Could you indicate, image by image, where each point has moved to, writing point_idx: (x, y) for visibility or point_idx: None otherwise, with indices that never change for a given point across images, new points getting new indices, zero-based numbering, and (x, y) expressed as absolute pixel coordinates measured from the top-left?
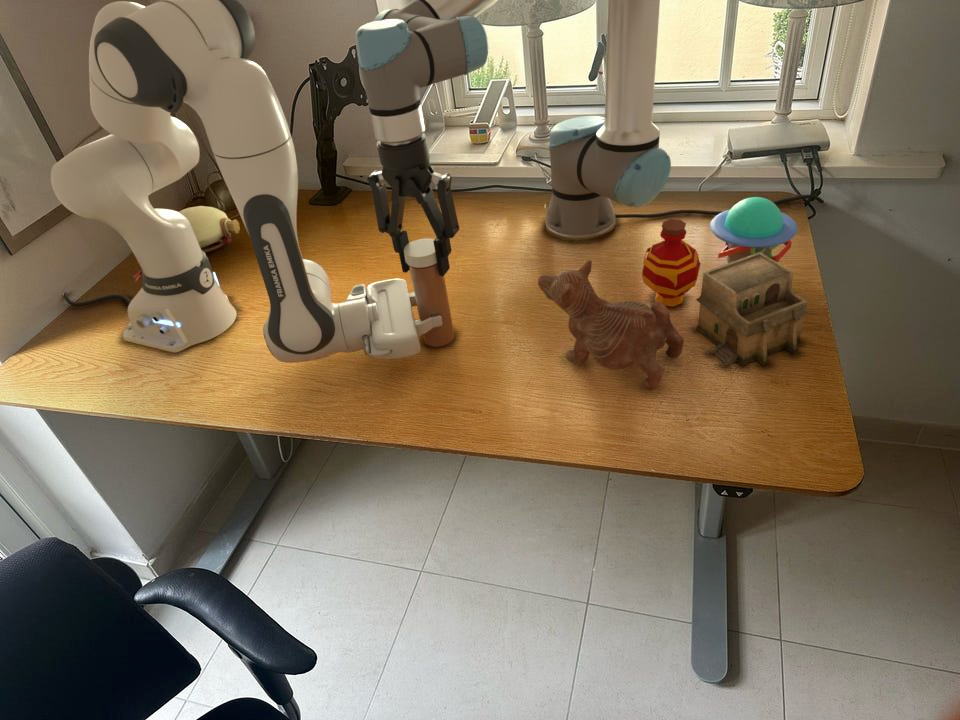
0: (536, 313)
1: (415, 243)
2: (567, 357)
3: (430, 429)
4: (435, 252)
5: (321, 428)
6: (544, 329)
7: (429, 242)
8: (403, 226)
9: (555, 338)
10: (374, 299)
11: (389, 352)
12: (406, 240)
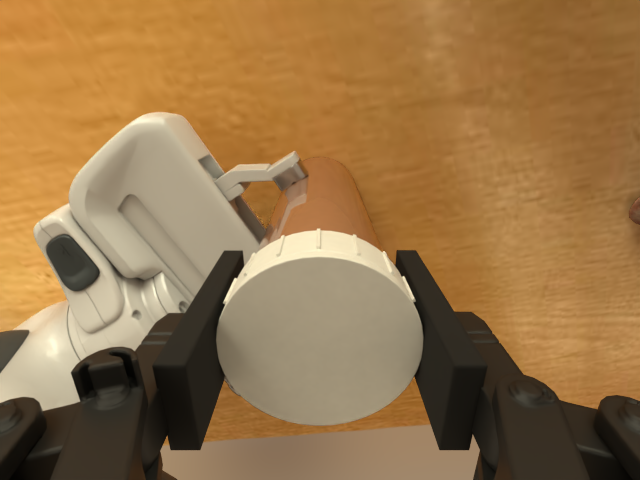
0: (546, 35)
1: (259, 319)
2: (635, 220)
3: (400, 407)
4: (420, 390)
5: (233, 435)
6: (571, 107)
7: (340, 298)
8: (138, 363)
9: (599, 139)
10: (144, 266)
11: None
12: (207, 348)
